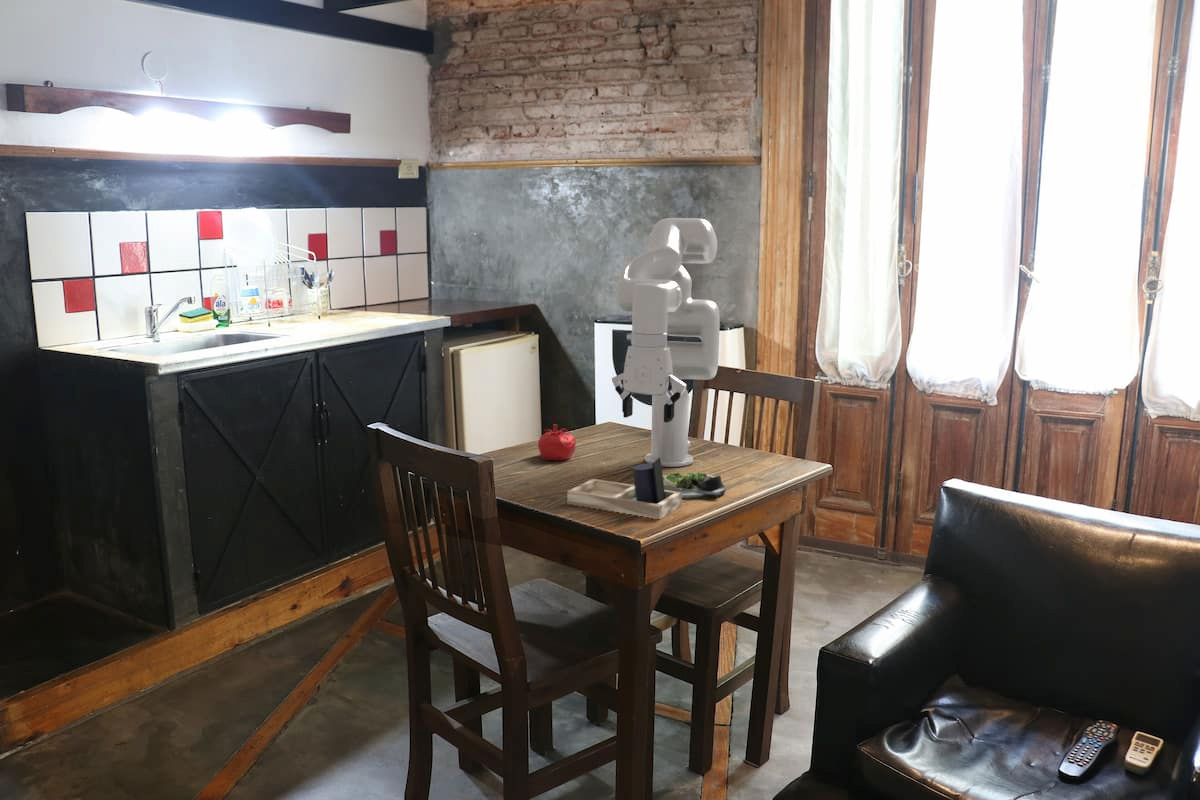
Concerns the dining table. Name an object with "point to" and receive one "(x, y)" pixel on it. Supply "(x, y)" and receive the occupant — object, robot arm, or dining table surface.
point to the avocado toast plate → (694, 485)
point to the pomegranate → (556, 445)
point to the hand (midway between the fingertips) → (647, 418)
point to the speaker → (649, 482)
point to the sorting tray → (621, 499)
